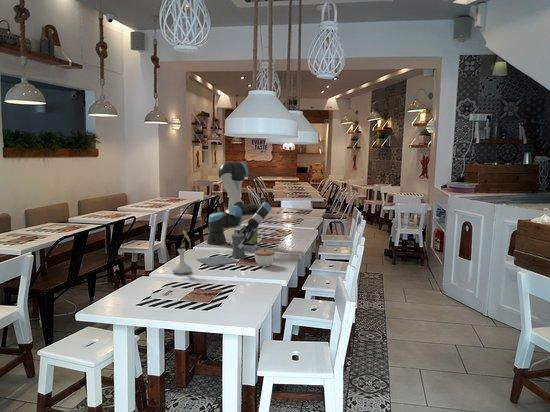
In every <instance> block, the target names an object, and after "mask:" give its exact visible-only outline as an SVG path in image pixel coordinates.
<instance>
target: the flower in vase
mask: <svg viewBox="0 0 550 412" xmlns="http://www.w3.org/2000/svg"><path fill="white" fill-rule="evenodd" d="M182 234H183V235H184V236H183V239H182V241H181V245H180V246H179V247H180V248H178V249H177V252H178V254H179V261H178V263H177V264H176V265H175V266H174V267H173V268H172V270H171V271H172V272H173V273H174V274H179V275H180V274H181V275H182V274H188V273H190V272H192V270H193V269H192V267H191V266H190V265H189V264H188V263H186V262H185V253H186V251H187V249H186V248H183V247H185V243H184V241H185V240H184V239H185V238H186V240H187V242H191V239H190V238H189V235H188V233H187V232H186V231H185V230H184V229H183V230H182Z"/></svg>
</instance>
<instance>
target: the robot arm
mask: <svg viewBox="0 0 550 412" xmlns="http://www.w3.org/2000/svg"><path fill="white" fill-rule="evenodd" d="M217 173H218V178H219V180H220V182H222V184H223V186H224V189H225V191H226V192H227V196H228V205H227V206H228V207H227V209H226V210H225V213H224V212H213V213H211V214H209V216H208V235H207V239H206V244H207V243H208V245H212V244H213V245H216V246H217V245H224V244H227V238H226V236H225V230H227V229H238V228H241V229H240V230H239V231H240V232H239V233H240V234H241V233H247V234H246V237H245V238H244V239H243V240H242V242H241V243H240V244H239V245H238V247H239V248H240V249H241V248H242V247H243V246H244V244H245V243H246V242H247V241H250V240H251V238H252V236H253V234H254V233H255V231H256V229H258V227H259V226H260V225H261V223H263V221H264V219H265V218H266V217H267V216H268V214H269V213H270V212H271V210H272V209H273V208H272V206H271V205H270V204H269V202H266V201H264V202H262V204H257V203H251V204H244V202H243V200H242V198H241V195H242V185H243V182H244V181H245V178H247V177H248V176H249V168H248V165H247V163H245V162H243V161H226V162H223V163H222V164H221V165H220V166H219V168H218V170H217ZM247 216H251V218H249V220H248V221H247V224H246V225H245V224H244V225H243V226H242V223H243V217H247ZM240 226H242V227H240ZM237 233H238V232H237ZM237 233H236V234H237ZM230 245H231V246H232V247H234V245H233V241H231V242H230Z"/></svg>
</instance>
